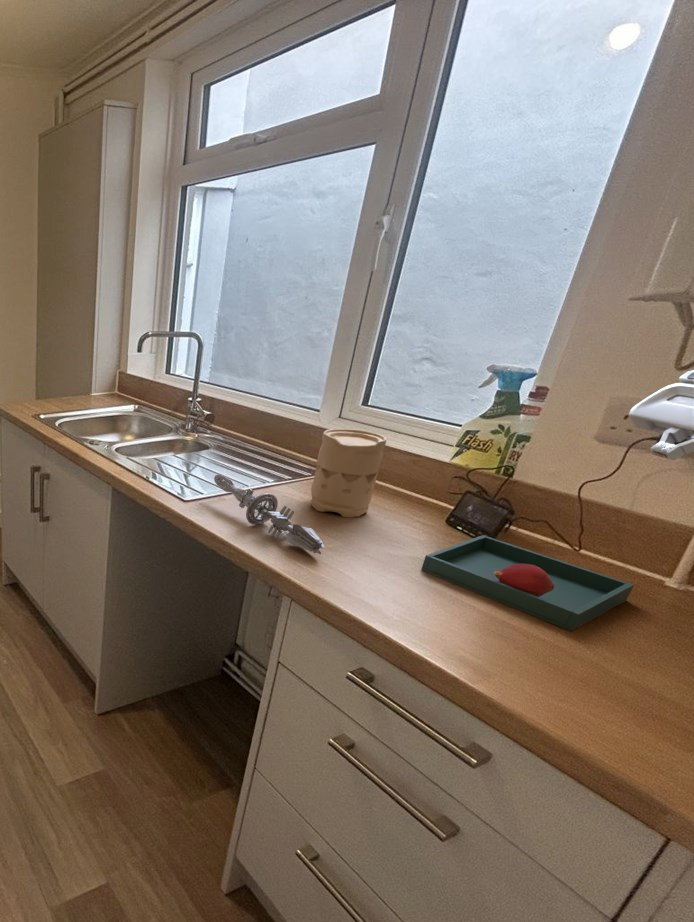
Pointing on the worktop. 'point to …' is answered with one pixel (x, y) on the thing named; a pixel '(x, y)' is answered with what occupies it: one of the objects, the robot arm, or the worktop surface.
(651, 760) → the worktop surface
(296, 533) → the spaceship
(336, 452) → the container
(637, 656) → the worktop surface
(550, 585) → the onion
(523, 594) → the tray
